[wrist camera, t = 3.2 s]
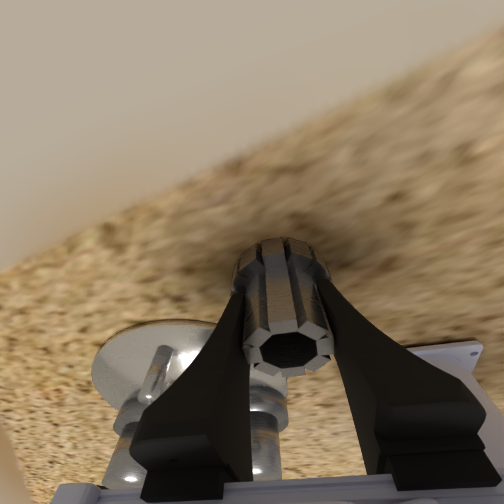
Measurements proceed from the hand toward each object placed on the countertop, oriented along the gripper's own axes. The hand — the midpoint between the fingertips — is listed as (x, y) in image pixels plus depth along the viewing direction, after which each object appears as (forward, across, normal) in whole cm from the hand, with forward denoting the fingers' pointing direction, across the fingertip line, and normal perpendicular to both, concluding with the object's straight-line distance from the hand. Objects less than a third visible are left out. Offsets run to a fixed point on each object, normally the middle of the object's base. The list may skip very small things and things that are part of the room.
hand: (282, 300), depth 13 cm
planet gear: (+2, 0, 0) cm, 2 cm away
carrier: (+2, +9, +10) cm, 14 cm away
